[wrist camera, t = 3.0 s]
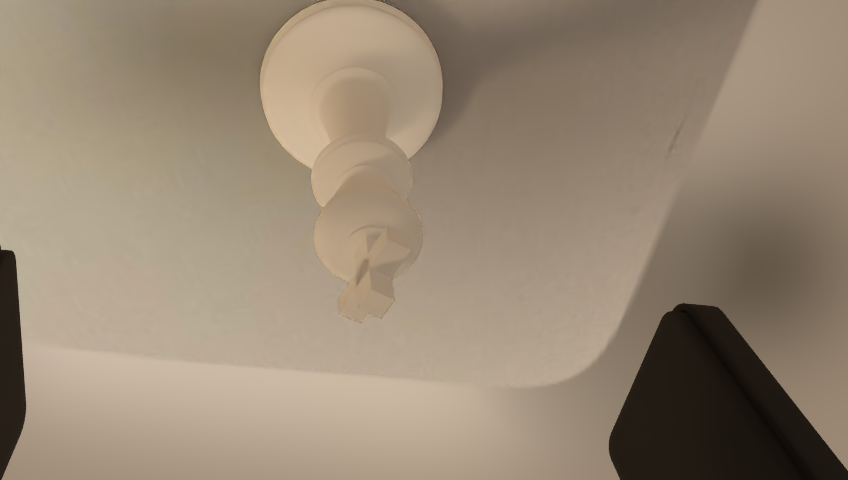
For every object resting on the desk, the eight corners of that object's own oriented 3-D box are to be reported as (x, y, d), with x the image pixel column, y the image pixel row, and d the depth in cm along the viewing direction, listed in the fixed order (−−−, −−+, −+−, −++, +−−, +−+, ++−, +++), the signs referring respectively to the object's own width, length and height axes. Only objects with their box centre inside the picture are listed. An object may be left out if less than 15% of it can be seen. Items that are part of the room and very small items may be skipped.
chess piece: (229, 122, 21) (169, 359, 12) (313, -42, 19) (309, 107, 10) (385, 197, 23) (426, 449, 14) (476, 54, 21) (586, 248, 12)
